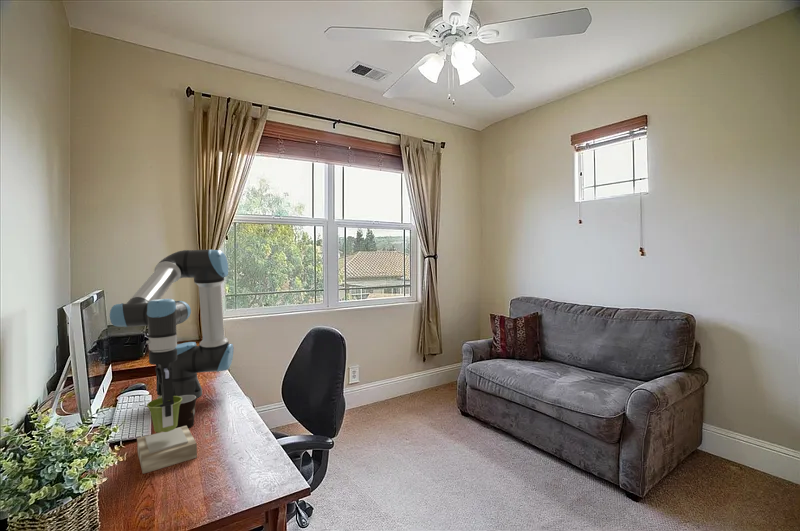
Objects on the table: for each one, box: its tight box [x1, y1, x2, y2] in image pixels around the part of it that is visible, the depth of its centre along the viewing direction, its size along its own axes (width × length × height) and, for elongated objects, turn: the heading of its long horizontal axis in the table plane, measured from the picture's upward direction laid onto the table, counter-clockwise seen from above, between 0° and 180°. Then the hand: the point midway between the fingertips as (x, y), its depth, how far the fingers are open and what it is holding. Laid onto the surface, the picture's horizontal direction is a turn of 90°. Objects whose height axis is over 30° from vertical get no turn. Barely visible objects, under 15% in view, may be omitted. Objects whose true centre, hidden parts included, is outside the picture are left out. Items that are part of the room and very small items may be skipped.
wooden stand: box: [136, 425, 198, 474], centre depth 121 cm, size 16×14×5 cm
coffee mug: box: [176, 395, 197, 429], centre depth 143 cm, size 12×9×10 cm
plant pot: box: [146, 396, 182, 433], centre depth 121 cm, size 9×9×9 cm
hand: (165, 420), depth 121 cm, fingers closed on plant pot, 9 cm apart
